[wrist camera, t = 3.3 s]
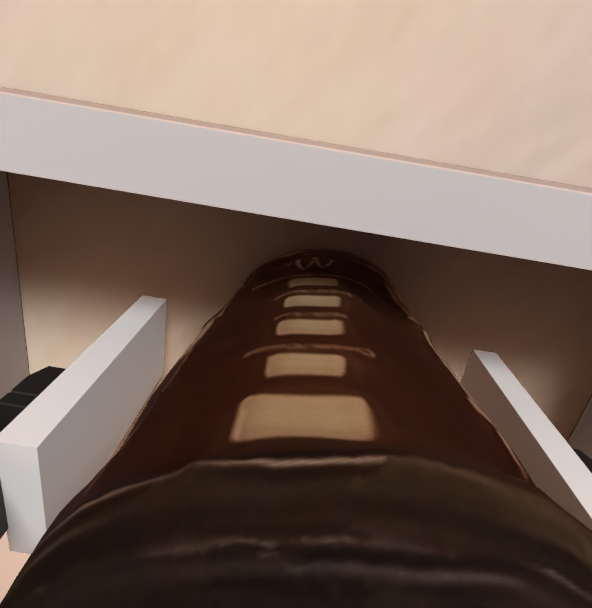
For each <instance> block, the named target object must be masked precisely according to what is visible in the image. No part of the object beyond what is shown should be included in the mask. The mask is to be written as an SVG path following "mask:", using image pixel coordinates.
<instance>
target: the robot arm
mask: <svg viewBox="0 0 592 608" xmlns="http://www.w3.org/2000/svg"><path fill="white" fill-rule="evenodd" d="M166 306H167V299H163V298H157V297H151V296H145V295H142V296H141V297H140V298H139V299H138V300H137V301H136V302H135V303H134V304H133V305H132V306H131V307H130V308H129V309H128V310H127V311H126V312H125V313H124V314H123V315H122V316H121V317H119V318H118V319H117V320H116V321H115V322H114V323H113V324H112V325H111V326H110V327H109V328H108V329H107V330H106V331H105V332H104V333H103V334H102V335H101V336H100V337H99V338H98V339H97V340H96V341H95V342H94V343H93V344H91V345H90V346H89V347H88V348H87V349H86V350H85V351H84V352H83V353H82V354H81V355H80V356H79V357H78V358H77V359H76V360H75V361H74V362H73V363H72V364H71V365H70V366H69V367H68V368H67V369H63V368H57V367H51V366H48V367H46V368H44V369H42V370H40V371H37V372H35V373H33V374H31V375H29V376H27V377H26V378H25V379H23V380H22V381H21V382H20V383H19V384H18V385H17V386H15V387H14V388H13V389H12V390H11V393H9V392H8V393H7V394H6V395H5V396H4V397H3V398H1V399H0V539H1V537H2V536H3V535H4V533H5V532H6V531H7V535H8V541H9V547H10V551H16V552H22V553H29V554H32V552H33V550H34V549H35V547H36V546H37V544H38V542H39V541H40V539H41V538H42V536H43V535H44V533H45V532H46V531H47V529H48V528H49V526H50V525H51V524H52V522H53V521H54V519H55V518H56V517H57V515H58V514H59V513H60V511H61V510H62V509H63V508H64V507H65V506H66V505H67V504H68V503H69V502H70V501H71V500H72V498H73V497H74V496H75V495H77V494H78V493H79V492H80V491H81V490H82V489H83V488H84V487H85V486H86V485H87V484H88V483H89V482H90V481H91V480H92V479H93V478H94V477H95V475H96V474H97V473H98V472H99V471H100V470H101V469H102V468H103V467H104V466H105V465H106V464H107V463H108V461H109V460H110V458H111V457H112V455H113V453H114V452H115V450H116V449H117V447H118V445H119V444H120V442H121V441H122V439H123V437H124V436H125V434H126V433H127V431H128V429H129V428H130V426H131V425H132V423H133V421H134V420H135V418H136V417H137V415H138V413H139V412H140V410H141V409H142V407H143V405H144V404H145V402H146V401H147V399H148V397H149V396H150V394H151V393H152V391H153V389H154V388H155V386H156V384H157V383H158V381H159V380H160V378H161V376H162V375H163V373H164V358H165V332H166ZM460 383H461V385H462V386H463V388H464V389H465V390H466V391H467V393H468V394H469V395H470V396H471V397H472V398H473V399H474V401H475V403H476V404H477V405H478V406H479V407H480V408H481V409H482V411H483V412H484V413H485V414H486V416H487V417H488V418H489V420H490V421H491V422H492V424H493V425H494V426H495V428H496V429H497V430H498V432H499V433H500V434H501V436H502V437H503V438H504V440H505V441H506V443H507V444H508V445H509V446H510V448H511V449H512V450H513V452H514V453H515V455H516V456H517V457H518V459H519V460H520V462H521V463H522V465H523V466H524V468H525V469H526V471H527V472H528V474H529V475H530V477H531V478H532V480H533V482H534V483H535V484H536V486H537V487H538V488H540V489H541V490H542V491H543V492H544V493H545V494H547V495H548V496H549V497H550V498H551V499H552V500H554V501H555V502H556V503H557V504H558V505H560V506H561V507H562V508H563V509H564V510H566V511H567V512H568V513H569V514H571V515H572V516H573V517H575V518H576V519H577V520H579V521H580V522H581V523H583V524H584V525H585V526H586V527H588V528H589V529H590V530H591V531H592V459H591V458H589V457H588V456H587V455H586V454H584V453H583V452H582V451H581V450H579V449H572V448H571V447H570V445H569V444H568V443H567V442H566V440H565V439H564V438H563V437H562V435H561V434H560V433H559V432H558V430H557V429H556V428H555V427H554V425H553V424H552V423H551V421H550V420H549V419H548V418H547V416H546V415H545V414H544V413H543V411H542V410H541V409H540V408H539V406H538V405H537V404H536V403H535V401H534V400H533V399H532V398H531V396H530V395H529V394H528V393H527V391H526V390H525V389H524V387H523V386H522V385H521V384H520V382H519V381H518V380H517V379H516V377H515V376H514V375H513V374H512V372H511V371H510V370H509V369H508V367H507V366H506V365H505V364H504V362H503V361H502V360H501V358H500V357H499V356H498V355H497V353H493V352H487V351H481V350H474V349H473V350H472V353H471V356H470V358H469V361H468V364H467V366H466V369H465V372H464V374H463V377H462V380H461V382H460Z"/></svg>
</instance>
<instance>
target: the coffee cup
mask: <svg viewBox="0 0 592 608" xmlns="http://www.w3.org/2000/svg"><path fill="white" fill-rule="evenodd" d="M0 608H592V531H591V530H590V529H589V528H588V527H586V526H585V525H584V524H583V523H581V522H580V521H579V520H577V519H576V518H575V517H573V516H572V515H571V514H569V513H568V512H567V511H566V510H564V509H563V508H562V507H561V506H560V505H558V504H557V503H556V502H555V501H554V500H552V499H551V498H550V497H549V496H548V495H547V494H545V493H544V492H543V491H542V490H541V489H540V488H538V487H537V486H536V484H535V483H534V482H533V480H532V478H531V477H530V475H529V474H528V472H527V471H526V469H525V468H524V466H523V465H522V463H521V462H520V460H519V459H518V457H517V456H516V455H515V453H514V452H513V450H512V449H511V448H510V446H509V445H508V444H507V443H506V441H505V440H504V438H503V437H502V436H501V434H500V433H499V432H498V430H497V429H496V428H495V426H494V425H493V424H492V422H491V421H490V420H489V418H488V417H487V416H486V414H485V413H484V412H483V411H482V409H481V408H480V407H479V406H478V405H477V404H476V403H475V401H474V399H473V398H472V397H471V396H470V395H469V394H468V393H467V391H466V390H465V389H464V388H463V386H462V385H461V383H460V382H459V381H458V379H457V377H456V376H455V374H454V373H453V372H452V370H451V369H450V368H449V366H448V365H447V364H446V362H445V361H444V360H443V358H442V357H441V356H440V355H439V354H438V352H437V351H436V350H435V348H434V346H433V344H432V342H431V339H430V338H429V336H428V334H427V333H426V331H425V330H424V329H423V327H422V326H421V325H420V324H419V323H418V322H417V321H416V320H415V319H413V318H412V315H411V314H410V313H409V311H408V310H407V309H406V307H405V306H404V305H403V304H402V302H401V301H400V300H399V298H398V297H397V295H396V293H395V290H394V288H393V286H392V284H391V283H390V281H389V279H388V277H387V275H386V274H385V272H383V271H382V270H380V269H379V268H378V267H376V266H375V265H373V264H371V263H370V262H368V261H366V260H364V259H361V258H359V257H356V256H353V255H349V254H344V253H340V252H336V251H324V250H311V251H299V252H294V253H291V254H288V255H284V256H280V257H278V258H276V259H274V260H272V261H270V262H268V263H265V264H263V265H261V266H259V267H258V268H257V269H256V270H254V271H253V272H252V274H251V275H250V276H249V277H248V278H247V280H246V282H245V283H244V285H243V287H242V288H241V289H239V290H238V291H237V293H236V294H235V295H234V297H233V298H232V299H231V300H230V301H229V302H228V303H227V304H226V305H225V307H224V308H223V309H221V310H220V311H219V312H218V313H217V314H216V315H215V316H213V317H212V318H211V319H210V320H209V321H208V322H207V323H206V324H205V325H204V326H203V328H202V330H201V332H200V333H199V335H198V337H197V338H196V340H195V341H194V342H193V343H192V344H191V345H190V347H189V348H188V349H187V350H186V352H185V353H184V354H183V355H182V357H181V358H180V359H179V360H178V361H177V363H176V364H175V365H174V367H173V368H172V369H171V371H170V372H169V373H168V375H167V376H166V377H165V379H164V380H163V381H162V383H161V384H160V386H159V387H158V388H157V389H156V391H155V392H154V393H153V395H152V396H151V398H150V400H149V402H148V403H147V405H146V407H145V409H144V410H143V412H142V414H141V415H140V417H139V419H138V420H137V422H136V424H135V426H134V427H133V429H132V431H131V432H130V434H129V436H128V438H127V439H126V440H125V442H124V444H123V445H122V447H121V449H120V451H119V452H118V453H117V454H116V455H115V456H114V457H113V458H112V459H111V460H110V461H109V462H108V463H107V464H106V465H105V466H104V467H103V468H102V469H101V470H100V471H99V472H98V473H97V474H96V475H95V477H94V478H93V479H92V480H91V481H90V482H89V483H88V484H87V485H86V486H85V487H84V488H83V489H82V490H81V491H80V492H79V493H78V494H77V495H75V496H74V497H73V498H72V500H71V501H70V502H69V503H68V504H67V505H66V506H65V507H64V508H63V509H62V510H61V511H60V513H59V514H58V515H57V517H56V518H55V519H54V521H53V522H52V524H51V525H50V526H49V528H48V529H47V531H46V532H45V533H44V535H43V536H42V538H41V539H40V541H39V542H38V544H37V546H36V547H35V549H34V550H33V552H32V554H31V556H30V557H29V559H28V560H27V562H26V563H25V565H24V566H23V568H22V569H21V571H20V572H19V574H18V576H17V577H16V579H15V580H14V582H13V584H12V586H11V587H10V589H9V591H8V593H7V594H6V596H5V597H4V599H3V600H2V602H1V604H0Z"/></svg>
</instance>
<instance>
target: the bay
mask: <svg viewBox="0 0 592 608" xmlns="http://www.w3.org/2000/svg"><path fill="white" fill-rule="evenodd" d="M7 172H12V173H18V174H24V175H30V176H36V177H42V178H48V179H54V180H59V181H65V182H71V183H77V184H83V185H89V186H95V187H101V188H107V189H113V190H119V191H125V192H131V193H137V194H142V195H148V196H154V197H160V198H166V199H172V200H178V201H184V202H190V203H196V204H202V205H208V206H214V207H220V208H225V209H231V210H237V211H243V212H249V213H255V214H261V215H267V216H273V217H279V218H285V219H291V220H297V221H303V222H309V223H314V224H320V225H326V226H332V227H338V228H344V229H350V230H356V231H362V232H368V233H374V234H380V235H386V236H392V237H397V238H403V239H409V240H415V241H421V242H427V243H433V244H439V245H445V246H451V247H457V248H463V249H469V250H475V251H480V252H486V253H492V254H498V255H504V256H510V257H516V258H522V259H528V260H534V261H540V262H546V263H552V264H558V265H564V266H569V267H575V268H581V269H587V270H592V189H590V188H584V187H579V186H573V185H567V184H561V183H555V182H550V181H544V180H538V179H532V178H526V177H521V176H515V175H509V174H503V173H497V172H492V171H486V170H480V169H474V168H468V167H463V166H457V165H451V164H445V163H439V162H434V161H428V160H422V159H416V158H410V157H405V156H399V155H393V154H387V153H381V152H376V151H370V150H364V149H358V148H352V147H347V146H341V145H335V144H329V143H323V142H318V141H312V140H306V139H300V138H294V137H289V136H283V135H277V134H271V133H265V132H260V131H254V130H248V129H242V128H236V127H231V126H225V125H219V124H213V123H207V122H202V121H196V120H190V119H184V118H178V117H173V116H167V115H161V114H155V113H149V112H144V111H138V110H132V109H126V108H120V107H115V106H109V105H103V104H97V103H91V102H86V101H80V100H74V99H68V98H62V97H57V96H51V95H45V94H39V93H33V92H28V91H22V90H16V89H10V88H4V87H0V399H1V398H3V397H4V396H5V395H6V394H7V393H8V392H9V393H11V390H12V389H13V388H14V387H15V386H17V385H18V384H19V383H20V382H21V381H22V380H23V379H25V378H26V377H27V376H29V368H28V359H27V350H26V341H25V332H24V323H23V314H22V305H21V296H20V287H19V279H18V270H17V261H16V252H15V243H14V234H13V225H12V216H11V207H10V198H9V190H8V181H7ZM567 443H568V444H569V445H570V447H571V448H572V449H579V450H581V451H582V452H583V453H584V454H586V455H587V456H588V457H589V458H591V459H592V397H591V399H590V401H589V402H588V404H587V406H586V408H585V410H584V412H583V414H582V416H581V417H580V419H579V421H578V423H577V425H576V427H575V429H574V431H573V432H572V434H571V436H570V438H569V440H568V442H567Z"/></svg>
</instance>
